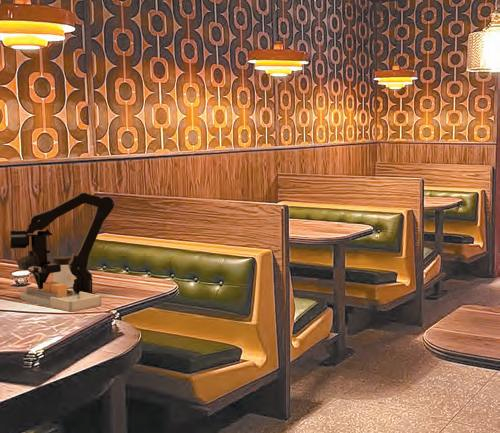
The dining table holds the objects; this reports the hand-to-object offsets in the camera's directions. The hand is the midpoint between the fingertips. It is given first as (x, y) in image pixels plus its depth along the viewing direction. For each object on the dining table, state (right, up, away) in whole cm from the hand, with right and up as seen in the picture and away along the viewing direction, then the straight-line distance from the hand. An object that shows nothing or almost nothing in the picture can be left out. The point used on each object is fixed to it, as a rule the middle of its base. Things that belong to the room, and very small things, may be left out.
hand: (40, 289), depth 262 cm
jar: (+3, -1, +22) cm, 22 cm away
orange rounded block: (+5, -1, -4) cm, 7 cm away
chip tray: (+17, -5, -14) cm, 22 cm away
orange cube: (+9, -2, -8) cm, 12 cm away
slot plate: (+5, -4, -4) cm, 7 cm away
